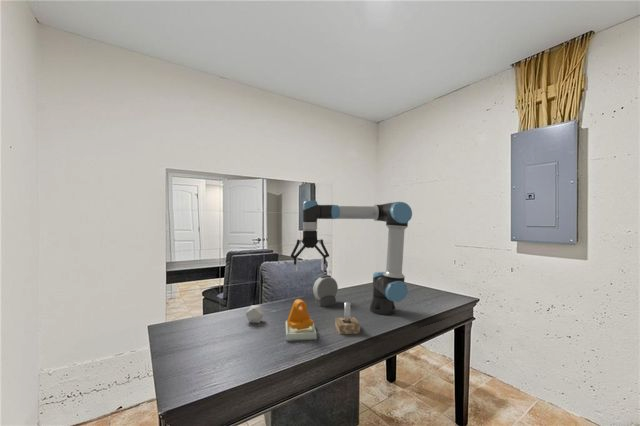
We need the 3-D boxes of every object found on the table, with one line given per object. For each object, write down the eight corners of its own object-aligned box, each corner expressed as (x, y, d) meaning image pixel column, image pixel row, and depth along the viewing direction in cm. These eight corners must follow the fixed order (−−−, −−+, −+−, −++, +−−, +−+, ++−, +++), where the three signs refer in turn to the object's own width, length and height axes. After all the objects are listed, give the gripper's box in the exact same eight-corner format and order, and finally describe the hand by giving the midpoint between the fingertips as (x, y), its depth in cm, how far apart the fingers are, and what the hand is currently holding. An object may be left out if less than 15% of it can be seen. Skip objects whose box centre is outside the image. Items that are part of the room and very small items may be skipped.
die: (266, 320, 148) (258, 303, 151) (267, 317, 140) (259, 299, 144) (251, 328, 144) (243, 310, 148) (251, 325, 137) (243, 307, 140)
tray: (312, 325, 140) (312, 319, 140) (316, 339, 124) (316, 332, 124) (285, 326, 138) (285, 320, 138) (286, 340, 122) (286, 334, 122)
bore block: (354, 325, 141) (354, 317, 142) (359, 333, 132) (360, 324, 132) (335, 325, 140) (335, 318, 140) (339, 334, 130) (339, 325, 130)
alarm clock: (331, 299, 185) (331, 272, 186) (340, 303, 177) (340, 275, 177) (310, 303, 177) (311, 274, 177) (318, 307, 168) (319, 277, 168)
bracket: (292, 331, 125) (293, 304, 126) (287, 325, 132) (287, 300, 132) (313, 327, 130) (314, 301, 130) (307, 321, 137) (308, 297, 137)
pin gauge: (349, 328, 138) (350, 302, 138) (351, 330, 134) (351, 304, 135) (343, 328, 137) (343, 302, 137) (344, 330, 134) (345, 304, 134)
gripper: (331, 229, 150) (331, 268, 149) (285, 229, 146) (285, 269, 145) (334, 230, 142) (334, 271, 142) (286, 230, 138) (286, 272, 138)
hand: (309, 270), depth 144 cm, fingers open, 13 cm apart
